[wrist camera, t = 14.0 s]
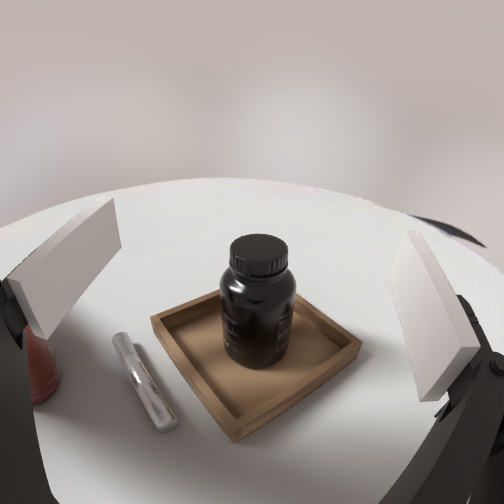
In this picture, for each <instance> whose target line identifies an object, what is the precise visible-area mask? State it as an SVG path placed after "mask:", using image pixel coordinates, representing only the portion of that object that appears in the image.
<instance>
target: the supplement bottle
mask: <svg viewBox="0 0 504 504" xmlns="http://www.w3.org/2000/svg"><path fill="white" fill-rule="evenodd" d="M287 259H288V246H287V245H286V243H284V241H282V240H281V239H279V238H277V237H274V236H272V235H267V234H250V235H245V236H241V237H239V238H237V239H236V240H234V242H232V244H231V245H230V260H229V265H230V266H229V267H228V268H227V269H226V270H225V272H224V273H223V275H222V277H221V280H220V303H221V318H222V331H223V343H224V348H225V351H226V353H227V354H228V356H229V357H230V358H231V359H232V360H233V361H235V362H236V363H238V364H240V365H242V366H245V367H249V368H263V367H268V366H271V365H273V364H275V363H277V362H278V361H280V360H281V359H282V358H283V357H284V355H285V354H286V352H287V350H288V346H289V340H290V333H291V326H292V319H293V311H294V304H295V296H296V281H295V278H294V276H293V274H292V273H291V271H290V270H289V269H288V260H287Z"/></svg>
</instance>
